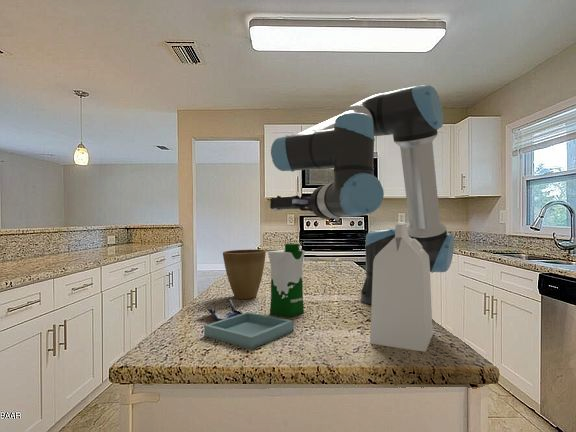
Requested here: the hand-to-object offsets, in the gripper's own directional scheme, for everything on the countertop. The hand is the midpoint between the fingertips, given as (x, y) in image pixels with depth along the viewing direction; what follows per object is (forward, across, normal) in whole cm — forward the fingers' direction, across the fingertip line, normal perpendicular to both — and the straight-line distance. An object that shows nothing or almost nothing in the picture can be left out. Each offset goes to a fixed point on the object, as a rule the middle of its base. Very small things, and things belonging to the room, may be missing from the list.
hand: (298, 207), depth 102 cm
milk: (-21, +18, -30) cm, 41 cm away
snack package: (+10, -17, -31) cm, 37 cm away
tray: (-6, -14, -31) cm, 35 cm away
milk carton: (+9, 0, -30) cm, 31 cm away
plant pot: (+34, -6, -29) cm, 46 cm away
